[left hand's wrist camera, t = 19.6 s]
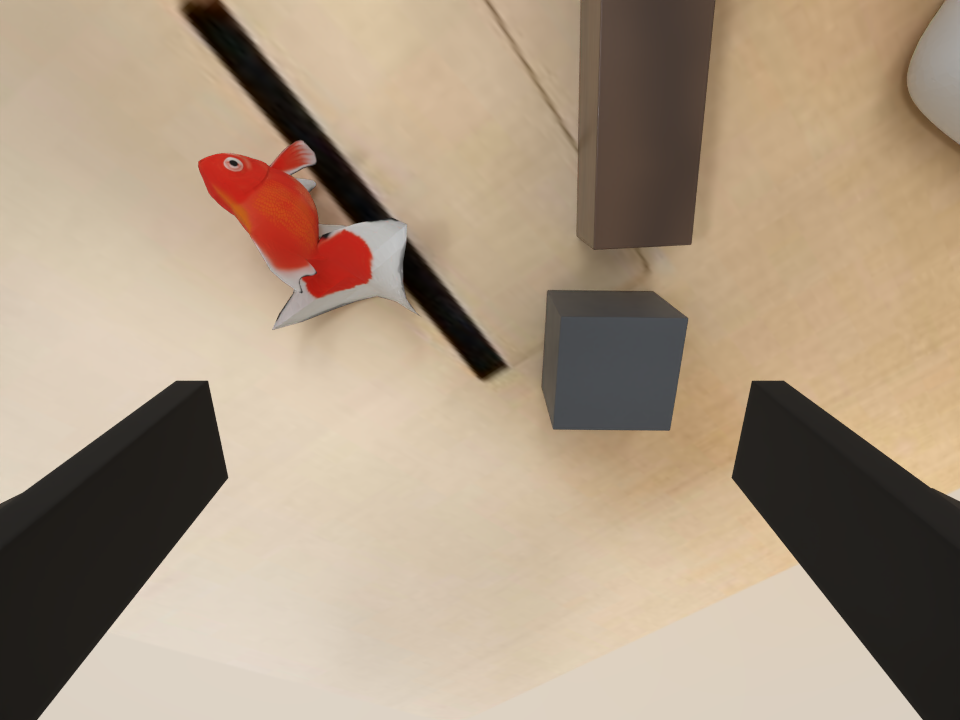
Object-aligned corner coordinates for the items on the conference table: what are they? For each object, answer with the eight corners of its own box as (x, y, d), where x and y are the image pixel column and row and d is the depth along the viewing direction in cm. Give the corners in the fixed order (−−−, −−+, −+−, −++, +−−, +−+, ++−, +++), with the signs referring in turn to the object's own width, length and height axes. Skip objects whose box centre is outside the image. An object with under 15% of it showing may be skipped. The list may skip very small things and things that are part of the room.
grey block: (541, 387, 42) (552, 429, 35) (547, 290, 39) (560, 316, 32) (640, 388, 42) (670, 430, 35) (653, 291, 39) (688, 318, 32)
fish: (327, 53, 29) (269, 152, 23) (467, 249, 39) (452, 352, 33) (204, 134, 33) (129, 235, 28) (359, 290, 44) (329, 387, 38)
